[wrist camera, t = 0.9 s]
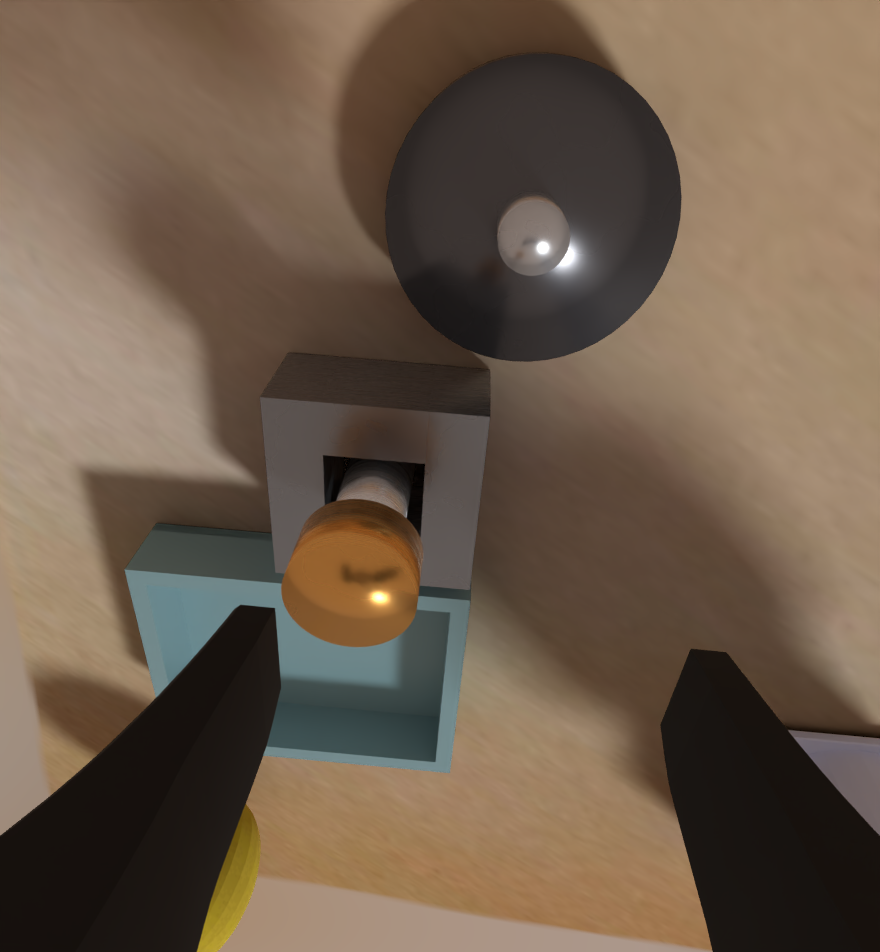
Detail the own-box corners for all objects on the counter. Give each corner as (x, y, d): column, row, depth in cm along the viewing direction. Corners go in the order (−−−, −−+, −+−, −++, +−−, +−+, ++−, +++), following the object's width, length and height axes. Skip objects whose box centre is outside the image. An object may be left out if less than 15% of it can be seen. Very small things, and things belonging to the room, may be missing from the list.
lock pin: (433, 493, 23) (414, 652, 17) (337, 484, 23) (285, 641, 17) (439, 407, 21) (420, 552, 15) (336, 398, 21) (277, 538, 15)
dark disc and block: (587, 540, 23) (599, 601, 21) (298, 515, 23) (275, 572, 21) (699, 64, 16) (739, 69, 13) (269, 31, 16) (227, 29, 13)
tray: (452, 719, 29) (449, 772, 27) (191, 695, 29) (168, 746, 27) (472, 551, 24) (470, 600, 22) (156, 523, 24) (124, 569, 22)
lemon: (284, 761, 31) (229, 960, 24) (273, 826, 34) (221, 1018, 27) (164, 738, 31) (73, 933, 24) (163, 805, 34) (83, 996, 27)
